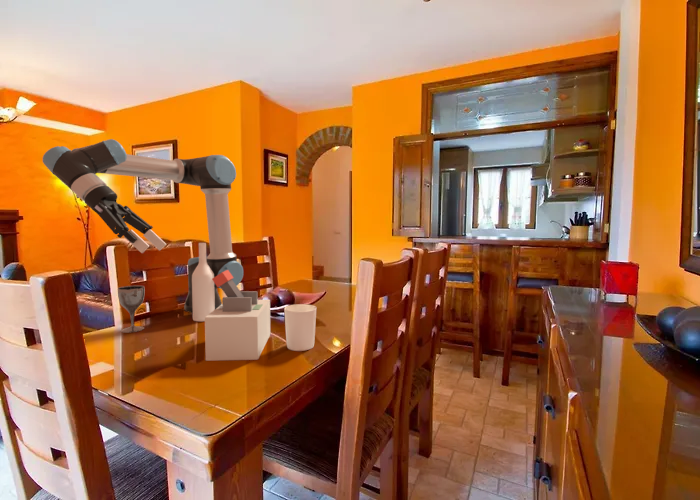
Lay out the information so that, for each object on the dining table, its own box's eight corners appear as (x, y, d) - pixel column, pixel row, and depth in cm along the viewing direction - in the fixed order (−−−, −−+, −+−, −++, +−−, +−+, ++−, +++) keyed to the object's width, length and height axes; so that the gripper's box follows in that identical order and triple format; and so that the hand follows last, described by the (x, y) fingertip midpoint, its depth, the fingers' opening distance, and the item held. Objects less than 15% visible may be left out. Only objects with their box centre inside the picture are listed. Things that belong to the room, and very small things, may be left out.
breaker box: (228, 335, 115) (227, 288, 114) (270, 334, 116) (269, 287, 115) (205, 360, 93) (204, 302, 92) (257, 359, 94) (257, 302, 93)
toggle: (238, 305, 107) (218, 275, 106) (248, 298, 107) (228, 269, 106) (233, 309, 101) (211, 278, 100) (243, 303, 101) (222, 272, 100)
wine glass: (114, 330, 119) (112, 288, 118) (137, 325, 126) (136, 284, 125) (127, 334, 115) (125, 290, 114) (150, 328, 122) (149, 286, 121)
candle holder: (310, 353, 99) (310, 312, 99) (279, 350, 101) (278, 310, 100) (320, 342, 109) (320, 305, 108) (291, 339, 111) (291, 303, 110)
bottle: (194, 316, 138) (192, 242, 135) (215, 315, 140) (214, 242, 138) (191, 322, 130) (189, 243, 128) (214, 320, 132) (212, 243, 130)
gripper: (110, 205, 110) (163, 254, 112) (56, 199, 87) (123, 261, 90) (127, 188, 110) (179, 238, 112) (77, 179, 87) (144, 241, 90)
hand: (154, 248), depth 101 cm, fingers open, 10 cm apart
